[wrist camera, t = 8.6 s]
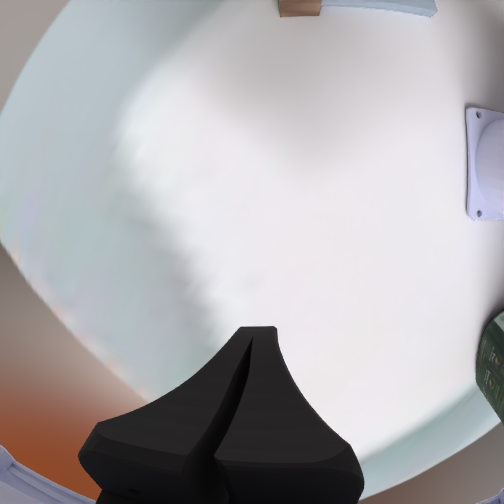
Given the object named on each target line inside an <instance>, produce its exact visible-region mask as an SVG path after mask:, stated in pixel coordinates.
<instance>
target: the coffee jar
mask: <svg viewBox="0 0 504 504" xmlns="http://www.w3.org/2000/svg"><path fill="white" fill-rule="evenodd" d="M476 383H477V385H478V387H479V388H480V390H481V391H482V393H483V394H484V396H485V398H486V399H487V401H488V402H489V403H490V405H491V406H492V408H493V409H494V411H495V412H496V414H497V415H498V417H499V418H500V420H501V422H502V423H503V425H504V310H502V311H501V312H500V313H498V314H497V315H496V316H495V317H494V318H493V319H492V320H491V322H490V323H489V324H488V325H487V327H486V328H485V331H484V333H483V336H482V340H481V344H480V348H479V352H478V359H477V366H476Z"/></svg>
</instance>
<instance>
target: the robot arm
mask: <svg viewBox="0 0 504 504" xmlns="http://www.w3.org/2000/svg"><path fill="white" fill-rule="evenodd" d="M476 112H477V113H478V114H479V118H478V117H477V116H476ZM466 122H467V138H468V201H467V216H468V218H470V219H471V220H504V113H501V112H496V111H491V110H486V109H480V108H475V107H469V108H467V110H466ZM478 210H479V215H477V211H478ZM78 458H79V461H80V464H81V465H82V467H83V468H84V470H85V471H86V472H87V473H88V474H89V475H90V477H91V478H92V479H93V480H94V481H95V482H96V483H97V484H98V485H99V487H100V488H101V489H102V491H101V493H100V495H99V497H98V499H97V501H94V500H91V499H89V498H87V497H84V496H82V495H80V494H78V493H75V492H73V491H71V490H69V489H66V488H64V487H62V486H60V485H58V484H56V483H54V482H52V481H50V480H48V479H46V478H44V477H43V476H41V475H39V474H37V473H35V472H34V471H32V470H30V469H28V468H27V467H25V466H23V465H21V464H20V463H18V462H17V461H15V460H14V459H13V457H12V456H11V455H10V454H9V452H8V451H7V450H6V449H5V448H4V447H2V446H1V445H0V504H357V503H358V501H359V498H360V496H361V494H362V492H363V490H364V477H363V473H362V470H361V467H360V464H359V462H358V460H357V457H356V455H355V453H354V451H353V449H352V447H351V445H350V444H349V443H347V442H346V441H345V440H344V439H343V438H341V437H340V436H339V435H338V434H337V433H336V432H335V431H333V430H332V429H331V428H330V427H329V426H328V425H327V424H326V423H325V422H324V421H323V420H322V418H321V417H320V416H319V415H318V414H317V413H316V411H315V410H314V409H313V408H312V407H311V405H310V404H309V403H308V402H307V400H306V399H305V397H304V396H303V394H302V393H301V392H300V390H299V388H298V387H297V385H296V383H295V382H294V380H293V378H292V376H291V374H290V372H289V370H288V368H287V366H286V364H285V362H284V359H283V356H282V354H281V351H280V348H279V344H278V335H277V328H275V327H274V326H259V327H240V328H239V329H238V330H237V331H236V332H235V333H234V335H233V336H232V337H231V338H230V339H229V340H228V342H227V343H226V344H225V345H224V346H223V347H222V348H221V349H220V350H219V351H218V353H217V354H216V355H215V356H214V357H213V358H212V359H211V360H210V361H209V362H208V363H207V364H205V365H204V366H203V367H202V368H201V369H200V370H199V371H198V372H197V373H196V374H194V375H193V376H192V377H191V378H189V379H188V380H187V381H185V382H184V383H183V384H181V385H180V386H178V387H177V388H175V389H174V390H172V391H170V392H169V393H167V394H165V395H164V396H162V397H160V398H159V399H157V400H155V401H153V402H151V403H149V404H147V405H145V406H143V407H141V408H139V409H136V410H134V411H131V412H129V413H126V414H124V415H121V416H118V417H115V418H112V419H108V420H105V421H102V422H98V423H97V425H96V426H95V428H94V429H93V430H92V432H91V434H90V435H89V437H88V438H87V440H86V442H85V443H84V445H83V447H82V448H81V450H80V451H79V454H78ZM477 504H504V488H503V489H502V490H501V491H500V492H499V494H498V495H495V496H493V497H491V498H489V499H486V500H484V501H481V502H479V503H477Z"/></svg>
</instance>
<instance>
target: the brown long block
mask: <svg viewBox="0 0 504 504" xmlns="http://www.w3.org/2000/svg"><path fill="white" fill-rule="evenodd" d="M278 3H279V10H280V17H292V16H319V13H320V8H321V3H322V0H278Z"/></svg>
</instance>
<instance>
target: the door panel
mask: <svg viewBox="0 0 504 504" xmlns="http://www.w3.org/2000/svg"><path fill="white" fill-rule="evenodd" d="M321 6H341V7H359V8H371V9H381V10H389V11H397V12H404V13H410V14H416V15H421V16H426V17H431V16H432V15H434V14H435V13H436V12H437V8H436V5H435V1H434V0H322V3H321Z"/></svg>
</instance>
